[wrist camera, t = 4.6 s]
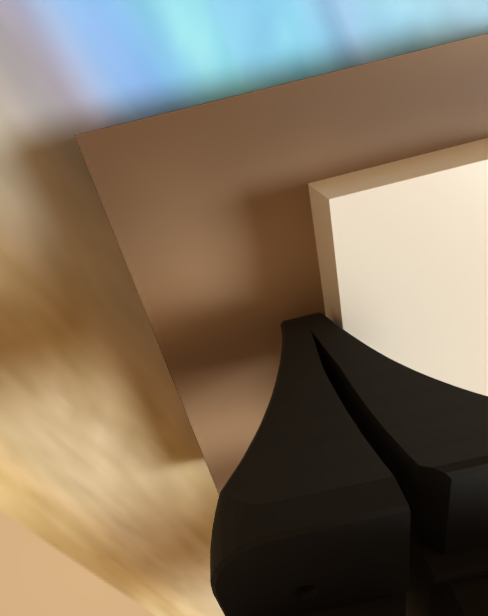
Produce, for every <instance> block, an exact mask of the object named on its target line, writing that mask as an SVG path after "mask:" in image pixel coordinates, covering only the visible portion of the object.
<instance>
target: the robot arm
mask: <svg viewBox="0 0 488 616" xmlns="http://www.w3.org/2000/svg"><path fill="white" fill-rule="evenodd" d="M280 326H281V331H282V350H281V358H280V365H279V369H278V374H277V378H276V382H275V386H274V389H273V393H272V396H271V399H270V401H269V404H268V407H267V409H266V412H265V414H264V417H263V419H262V422H261V424H260V426H259V428H258V430H257V432H256V434H255V436H254V438H253V440H252V442H251V443H250V445H249V447H248V449H247V451H246V453H245V455H244V456H243V458H242V460H241V461H240V463H239V465H238V466H237V468H236V469H235V471H234V472H233V473H232V475H231V476H230V478H229V479H228V481H227V482H226V484H225V485H224V487H223V488H222V490H221V491H220V495H219V499H218V503H217V508H216V512H215V518H214V523H213V530H212V539H211V549H210V573H211V587H212V591H213V594H214V596H215V598H216V600H217V601H218V603H219V605H220V607H221V609H222V611H223V613H224V614H225V616H488V396H485V395H482V394H478V393H475V392H472V391H468V390H465V389H462V388H459V387H456V386H453V385H451V384H448V383H445V382H443V381H440V380H437V379H434V378H432V377H429V376H427V375H424V374H422V373H420V372H417V371H415V370H413V369H411V368H409V367H406V366H404V365H402V364H400V363H398V362H396V361H394V360H392V359H390V358H388V357H386V356H384V355H383V354H381V353H379V352H377V351H376V350H374V349H372V348H371V347H369V346H367V345H366V344H364V343H363V342H361V341H360V340H358V339H357V338H355V337H354V336H352V335H351V334H349V333H348V332H346V331H345V330H344V329H342V328H341V327H340V326H338V325H337V324H335V323H334V322H333V321H332V320H330V319H329V318H328V317H326V316H325V315H324V314H322V313H320V312H319V313H315V314H311V315H306V316H302V317H298V318H293V319H289V320H285V321H283V322H282V323H281V324H280Z"/></svg>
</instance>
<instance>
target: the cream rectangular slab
mask: <svg viewBox="0 0 488 616" xmlns="http://www.w3.org/2000/svg"><path fill="white" fill-rule="evenodd" d="M308 188H309V196H310V203H311V210H312V218H313V225H314V233H315V240H316V247H317V255H318V262H319V270H320V277H321V284H322V292H323V299H324V306H325V314H326V317H328V318H329V319H330V320H332V321H333V322H334V323H335V324H337V325H338V326H340V327H341V328H342V329H344V330H345V331H346V332H348V333H349V334H351V335H352V336H354V337H355V338H357V339H358V340H360V341H361V342H363V343H364V344H366V345H367V346H369V347H371V348H372V349H374V350H376V351H377V352H379V353H381V354H383V355H384V356H386V357H388V358H390V359H392V360H394V361H396V362H398V363H400V364H402V365H404V366H406V367H409V368H411V369H413V370H415V371H417V372H420V373H422V374H424V375H427V376H429V377H432V378H434V379H437V380H440V381H443V382H445V383H448V384H451V385H453V386H456V387H459V388H462V389H465V390H468V391H472V392H475V393H478V394H482V395H485V396H488V138H485V139H481V140H477V141H473V142H469V143H465V144H462V145H458V146H454V147H450V148H446V149H442V150H438V151H434V152H430V153H426V154H422V155H418V156H414V157H410V158H406V159H402V160H398V161H394V162H390V163H386V164H383V165H379V166H375V167H371V168H367V169H363V170H359V171H355V172H351V173H347V174H343V175H339V176H335V177H331V178H327V179H323V180H319V181H315V182H311V183H308Z"/></svg>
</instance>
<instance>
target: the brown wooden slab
mask: <svg viewBox="0 0 488 616" xmlns="http://www.w3.org/2000/svg"><path fill="white" fill-rule="evenodd" d="M75 138H76V140H77V143H78V145H79V148H80V150H81V153H82V155H83V158H84V160H85V163H86V165H87V168H88V170H89V173H90V175H91V178H92V180H93V183H94V185H95V188H96V190H97V193H98V195H99V198H100V200H101V203H102V205H103V208H104V210H105V212H106V215H107V217H108V220H109V222H110V225H111V227H112V230H113V232H114V235H115V237H116V240H117V242H118V245H119V247H120V250H121V252H122V255H123V257H124V260H125V262H126V265H127V267H128V270H129V272H130V275H131V277H132V280H133V282H134V285H135V287H136V290H137V292H138V295H139V297H140V299H141V302H142V304H143V307H144V309H145V312H146V314H147V317H148V319H149V322H150V324H151V327H152V329H153V332H154V334H155V337H156V339H157V342H158V344H159V347H160V349H161V352H162V354H163V357H164V359H165V362H166V364H167V367H168V369H169V372H170V374H171V377H172V379H173V381H174V384H175V386H176V389H177V391H178V394H179V396H180V399H181V401H182V404H183V406H184V409H185V411H186V414H187V416H188V419H189V421H190V424H191V426H192V429H193V431H194V434H195V436H196V439H197V441H198V444H199V446H200V449H201V451H202V454H203V456H204V459H205V461H206V464H207V466H208V468H209V471H210V473H211V476H212V478H213V481H214V483H215V486H216V488H217V491H218V493H219V495H220V491H221V490H222V488H223V487H224V485H225V484H226V482H227V481H228V479H229V478H230V476H231V475H232V473H233V472H234V471H235V469H236V468H237V466H238V465H239V463H240V461H241V460H242V458H243V456H244V455H245V453H246V451H247V449H248V447H249V445H250V443H251V442H252V440H253V438H254V436H255V434H256V432H257V430H258V428H259V426H260V424H261V422H262V419H263V417H264V414H265V412H266V409H267V407H268V404H269V401H270V399H271V396H272V393H273V389H274V386H275V382H276V378H277V374H278V369H279V365H280V358H281V350H282V331H281V326H280V324H281V323H282V322H283V321H285V320H289V319H293V318H298V317H302V316H306V315H311V314H315V313H319V312H320V313H322V314H324V315H325V316H326V314H325V306H324V299H323V292H322V284H321V277H320V270H319V262H318V255H317V247H316V240H315V233H314V225H313V218H312V210H311V203H310V196H309V188H308V183H311V182H315V181H319V180H323V179H327V178H331V177H335V176H339V175H343V174H347V173H351V172H355V171H359V170H363V169H367V168H371V167H375V166H379V165H383V164H386V163H390V162H394V161H398V160H402V159H406V158H410V157H414V156H418V155H422V154H426V153H430V152H434V151H438V150H442V149H446V148H450V147H454V146H458V145H462V144H465V143H469V142H473V141H477V140H481V139H485V138H488V34H484V35H480V36H476V37H472V38H468V39H464V40H460V41H455V42H451V43H447V44H443V45H439V46H435V47H431V48H427V49H423V50H419V51H415V52H411V53H407V54H403V55H399V56H395V57H391V58H387V59H382V60H378V61H374V62H370V63H366V64H362V65H358V66H354V67H350V68H346V69H342V70H338V71H334V72H330V73H326V74H322V75H318V76H314V77H309V78H305V79H301V80H297V81H293V82H289V83H285V84H281V85H277V86H273V87H269V88H265V89H261V90H257V91H253V92H249V93H245V94H241V95H237V96H232V97H228V98H224V99H220V100H216V101H212V102H208V103H204V104H200V105H196V106H192V107H188V108H184V109H180V110H176V111H172V112H168V113H164V114H159V115H155V116H151V117H147V118H143V119H139V120H135V121H131V122H127V123H123V124H119V125H115V126H111V127H107V128H103V129H99V130H95V131H91V132H87V133H82V134H78V135H75Z"/></svg>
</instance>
